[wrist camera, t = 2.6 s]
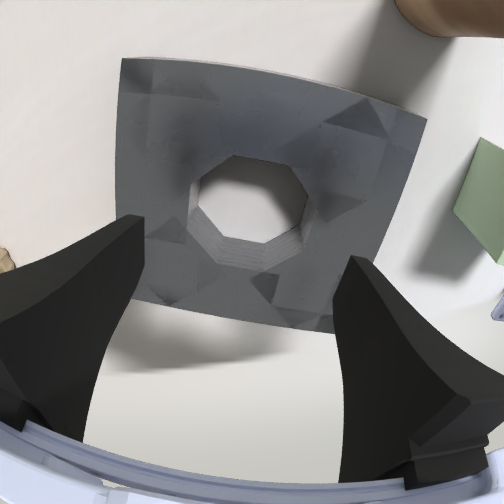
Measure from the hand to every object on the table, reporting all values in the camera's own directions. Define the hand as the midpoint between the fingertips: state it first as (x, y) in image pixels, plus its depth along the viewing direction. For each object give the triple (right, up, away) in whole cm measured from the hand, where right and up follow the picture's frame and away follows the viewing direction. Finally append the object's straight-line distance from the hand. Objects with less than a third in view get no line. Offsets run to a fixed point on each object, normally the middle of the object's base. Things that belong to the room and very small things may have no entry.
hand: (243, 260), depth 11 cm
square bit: (+14, +4, +3) cm, 15 cm away
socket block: (0, +3, +4) cm, 5 cm away
